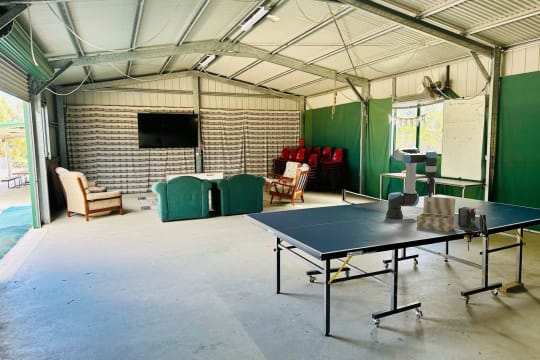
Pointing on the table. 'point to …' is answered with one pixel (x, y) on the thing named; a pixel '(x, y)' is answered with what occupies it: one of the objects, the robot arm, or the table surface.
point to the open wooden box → (435, 222)
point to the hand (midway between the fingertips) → (430, 201)
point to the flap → (439, 206)
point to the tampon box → (466, 216)
